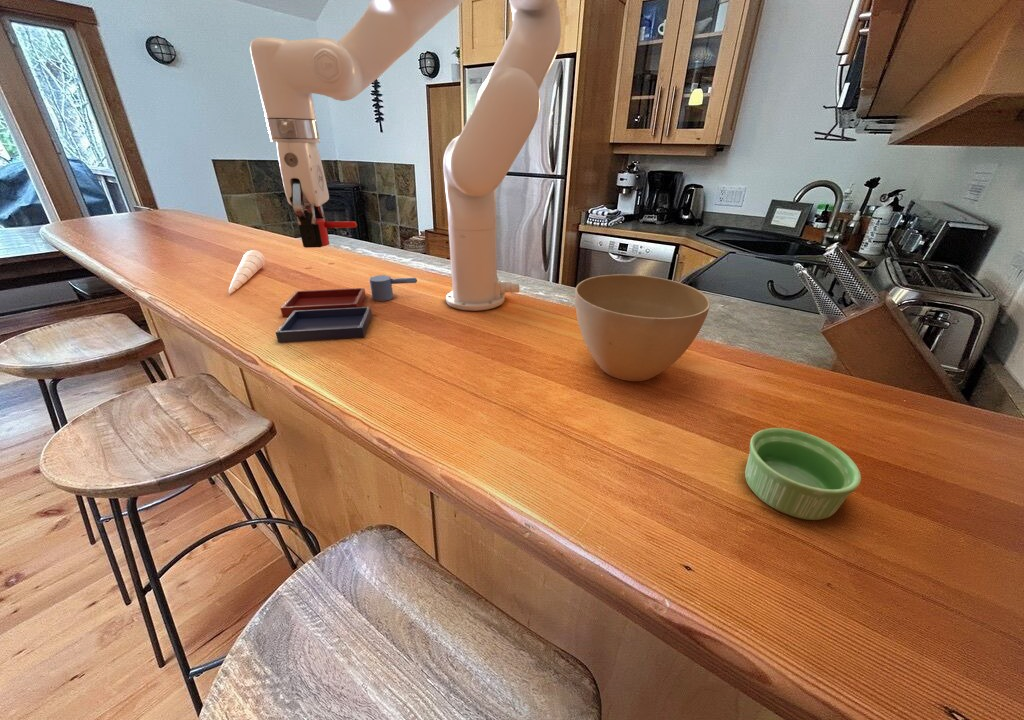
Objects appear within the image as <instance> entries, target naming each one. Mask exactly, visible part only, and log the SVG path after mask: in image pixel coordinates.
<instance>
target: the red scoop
mask: <svg viewBox="0 0 1024 720" xmlns="http://www.w3.org/2000/svg"><path fill="white" fill-rule="evenodd" d="M324 219H325V218H324ZM324 219H320V218H316V224H319V229H320V234H321V239H322V244H323V245H322V247H327V246H329V245H330V238H329V239H328V237H329V233H328V234H327V232H328V229H332V228H333V229H340V228H341V229H342V228H343V229H345V228H347V229H350V228H352V229H353V228H357V226H358V224H357V222H356V221H354V220H353V221H352V220H350V221H349V220H347V221H346V220H344V221H341V220H340V221H339V220H338V221H326V219H325V220H324ZM325 221H326V222H325ZM322 247H321V248H322Z"/></svg>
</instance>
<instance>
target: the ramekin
mask: <svg viewBox="0 0 1024 720" xmlns="http://www.w3.org/2000/svg"><path fill="white" fill-rule="evenodd" d="M748 453H749V454H748V456H747V457H748V458H747V460H746V461H747V462H746V465H745V471H744V476H745V481H746V484H747V485H748V487H749V488H750V490H751V491H752V492H753V493H754V494H755V495H756V496H757V497H758V499H760V500H761V501H762V502H764V503H765V504H766V505H767V506H769V507H771V508H773V509H775V510H776V511H778V512H780V513H783V514H785V515H788V516H790V517H793V518H797V519H802V520H807V521H808V520H809V521H818V520H819V521H820V520H824V519H828V518H830V517H832V516H833V515H834V514H836V512H837V511H838V510H839V509H840V507H841V506H842V505H843V503H844V502H845V500H846V499H847V498H848V497H849V495H850V494H853V492H854V491H855V490H856V489H857V488H858V487H859V486H860V484H861V481H862V475H861V474H862V473H861V471H860V469H859V467H858V466H857V464H856V463H855V461H854V460H853V459H852V458H851V457H850V456H849V455H848V454H846V453H845V451H843V450H842V449H840V448H839V447H837V446H835V445H834V444H833V443H831V442H829V441H827V440H826V439H823V438H821V437H818V436H816V435H813V434H811V433H808V432H804V431H801V430H797V429H792V428H786V427H785V428H784V427H770V428H764V429H760V430H758V431H757V432H755V433H754V434H753V435H752V436H751V438H750V442H749V452H748Z"/></svg>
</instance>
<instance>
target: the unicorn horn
mask: <svg viewBox="0 0 1024 720" xmlns="http://www.w3.org/2000/svg"><path fill="white" fill-rule="evenodd" d="M265 264H266V258H265V256H264V255H263V253H261V252H260V251H259V250H257V249H256V250H255V249H251V250H248V251H246V252H245V253H244V254H243V257H242V258H241V260H240V263H239V264H238V267H236V268H237V269H236V271H235V273H234V275H233V278H232V280H231V282H230V285H229V287H228V294H233V293H234V292H236V291H237V290H238V289H239V288H241V287H242V286H243V285H244V284H246V283H247V282H248V281H249V280H250V279H251V278H252V277H253V276H254V275H255V274H256V273H257V272H258V271H259V270H261V269H262V268H263V267H264V265H265Z"/></svg>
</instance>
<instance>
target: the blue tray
mask: <svg viewBox="0 0 1024 720" xmlns="http://www.w3.org/2000/svg"><path fill="white" fill-rule="evenodd" d="M372 318H373V313H372V307H371V306H361V307H357V308H337V309H317V310H297V311H293V312H292V314H291V315H290V316H289V317H286V319H285V320H284V322H283V323H282V324H281V325H280V327H279V328H278V329H277V330H276V331H275V335H276V339H277V343H294V342H309V341H311V342H312V341H326V340H327V341H328V340H342V339H359V338H365V336H366V333H367V330H368V328H369V325H370V322H371V319H372Z"/></svg>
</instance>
